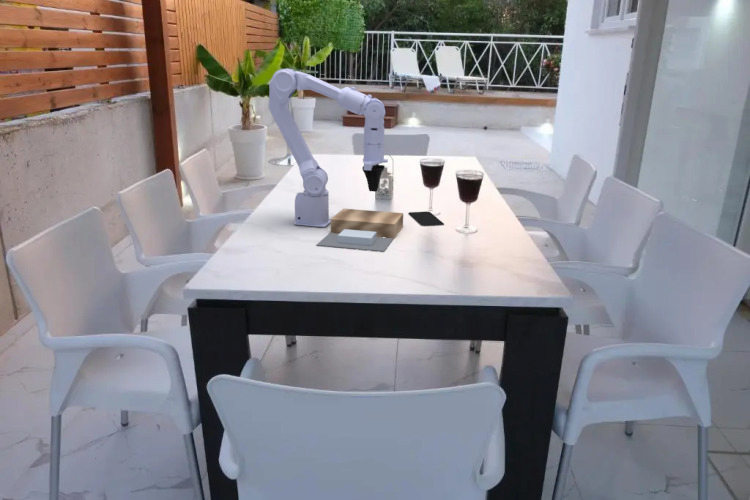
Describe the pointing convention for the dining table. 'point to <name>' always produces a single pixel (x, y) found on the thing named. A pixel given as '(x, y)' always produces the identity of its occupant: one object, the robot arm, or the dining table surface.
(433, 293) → the dining table surface
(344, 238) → the tile
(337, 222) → the tan flat wooden block
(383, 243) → the mat
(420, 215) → the smartphone
